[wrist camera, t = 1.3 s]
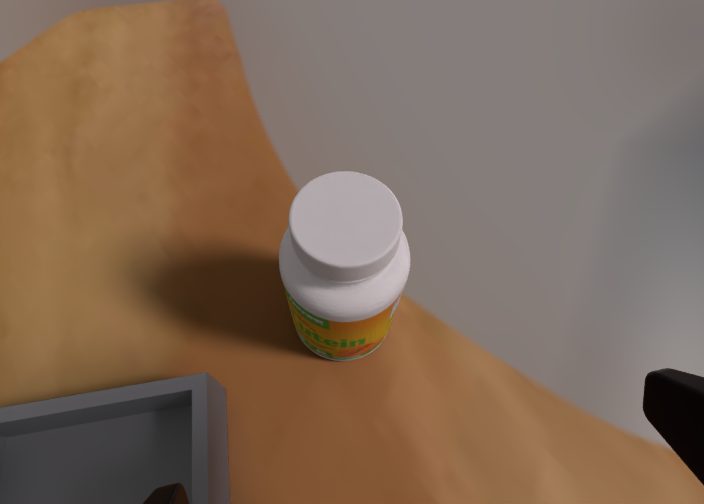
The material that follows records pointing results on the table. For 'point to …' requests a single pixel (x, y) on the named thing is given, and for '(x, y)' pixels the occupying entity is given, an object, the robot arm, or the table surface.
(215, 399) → the trough tray
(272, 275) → the table surface
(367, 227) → the supplement bottle
